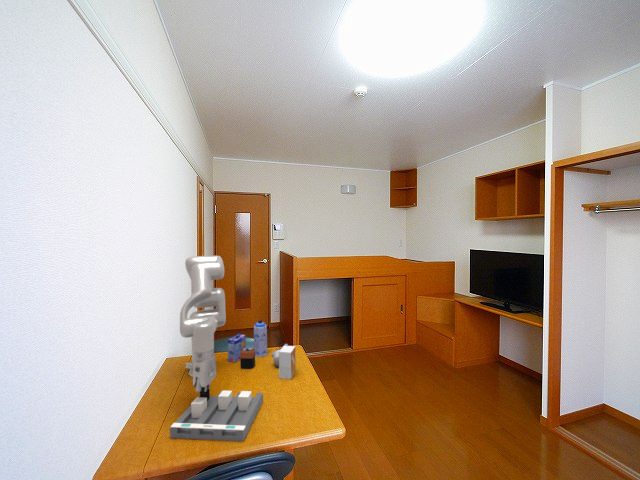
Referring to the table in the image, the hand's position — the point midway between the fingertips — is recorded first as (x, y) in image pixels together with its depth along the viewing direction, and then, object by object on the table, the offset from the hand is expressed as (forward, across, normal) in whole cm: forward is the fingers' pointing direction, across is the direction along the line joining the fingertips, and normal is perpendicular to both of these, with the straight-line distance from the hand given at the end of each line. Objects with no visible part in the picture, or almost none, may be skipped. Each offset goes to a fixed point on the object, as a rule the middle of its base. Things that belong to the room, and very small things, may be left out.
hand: (204, 399), depth 105 cm
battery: (+5, +37, -4) cm, 38 cm away
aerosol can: (+5, +53, -6) cm, 54 cm away
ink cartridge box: (+5, +47, +6) cm, 48 cm away
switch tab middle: (+3, +1, -8) cm, 9 cm away
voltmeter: (+5, +46, -20) cm, 51 cm away
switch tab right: (+3, +1, -16) cm, 16 cm away
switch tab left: (+3, -4, 0) cm, 5 cm away
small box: (+5, +30, -27) cm, 41 cm away
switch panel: (+5, -3, -8) cm, 10 cm away
